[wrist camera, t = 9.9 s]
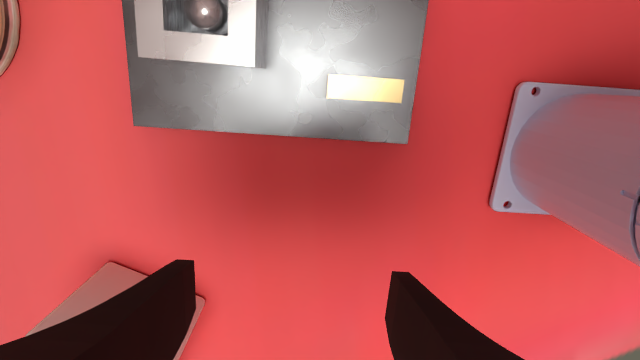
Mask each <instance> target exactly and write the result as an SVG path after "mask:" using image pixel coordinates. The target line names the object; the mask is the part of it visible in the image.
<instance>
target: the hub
mask: <svg viewBox="0 0 640 360" xmlns="http://www.w3.org/2000/svg"><path fill="white" fill-rule="evenodd" d="M184 3H185V0H134V7H135V21H136V34H137V48H138V57H144V58H153V59H162V60H171V61H182V62H194V63H205V64H217V65H228V66H240V67H252V68H263V69H266V46H267V16H268V0H228V36H222V35H211V34H200V33H192V23H191V22H190V21H189V20H188V19H187V17H186V14H185V11H184Z"/></svg>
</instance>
